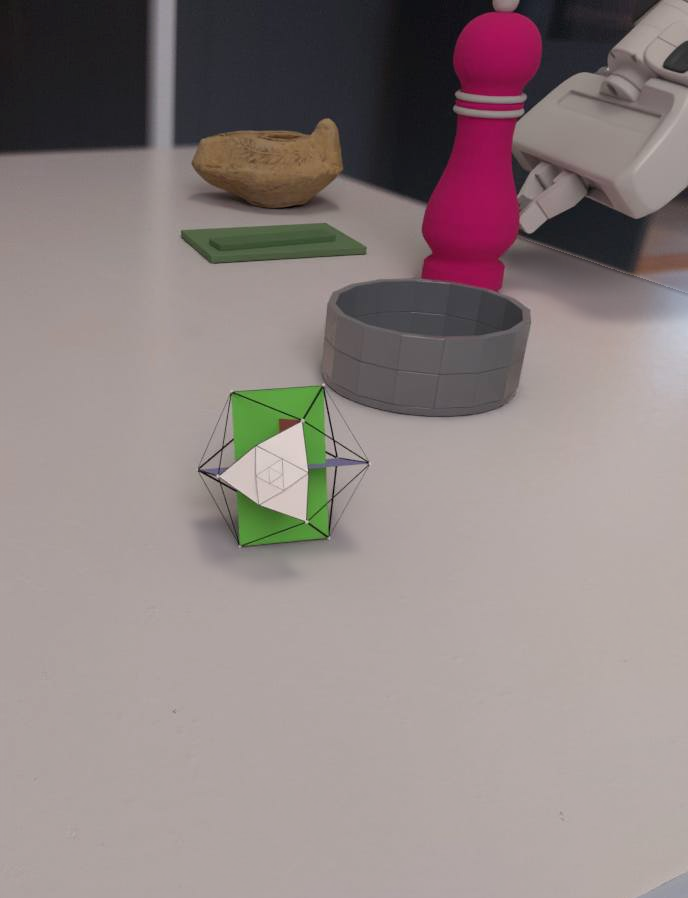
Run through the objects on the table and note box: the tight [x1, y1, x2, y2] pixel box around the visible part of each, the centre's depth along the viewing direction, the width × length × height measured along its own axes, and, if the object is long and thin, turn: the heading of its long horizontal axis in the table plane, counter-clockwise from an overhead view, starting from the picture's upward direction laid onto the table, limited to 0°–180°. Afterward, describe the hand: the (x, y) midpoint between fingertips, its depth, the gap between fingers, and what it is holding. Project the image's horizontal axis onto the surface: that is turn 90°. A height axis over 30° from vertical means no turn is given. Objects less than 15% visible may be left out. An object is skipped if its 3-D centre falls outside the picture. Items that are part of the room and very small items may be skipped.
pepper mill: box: [420, 0, 543, 293], centre depth 75 cm, size 7×7×20 cm
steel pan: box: [321, 277, 532, 417], centre depth 62 cm, size 12×12×4 cm
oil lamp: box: [191, 118, 344, 209], centre depth 102 cm, size 11×15×8 cm
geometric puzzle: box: [195, 383, 373, 549], centre depth 45 cm, size 7×7×8 cm
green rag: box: [180, 222, 368, 264], centre depth 90 cm, size 14×9×1 cm, turn 107°
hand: (514, 223), depth 79 cm, fingers closed
